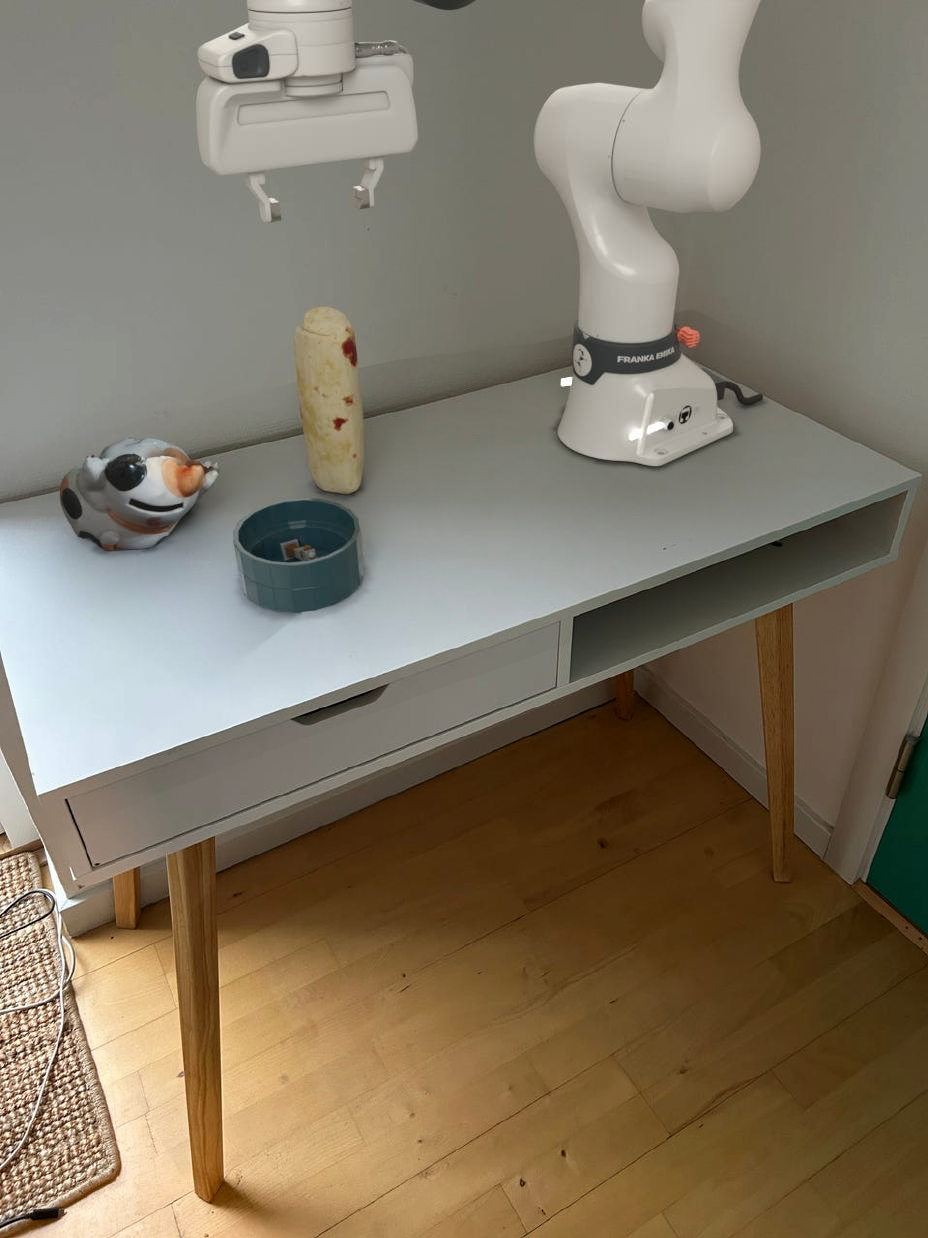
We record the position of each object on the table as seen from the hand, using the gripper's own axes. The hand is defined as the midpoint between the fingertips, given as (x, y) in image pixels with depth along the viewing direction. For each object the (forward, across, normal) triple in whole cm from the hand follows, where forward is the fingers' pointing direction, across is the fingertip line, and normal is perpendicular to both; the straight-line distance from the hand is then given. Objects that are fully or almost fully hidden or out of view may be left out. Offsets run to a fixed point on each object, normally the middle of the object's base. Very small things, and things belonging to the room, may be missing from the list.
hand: (318, 213), depth 93 cm
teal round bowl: (+31, +10, +13) cm, 35 cm away
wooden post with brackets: (+31, +9, +13) cm, 35 cm away
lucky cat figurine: (+31, +21, -5) cm, 38 cm away
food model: (+31, -1, -4) cm, 32 cm away
